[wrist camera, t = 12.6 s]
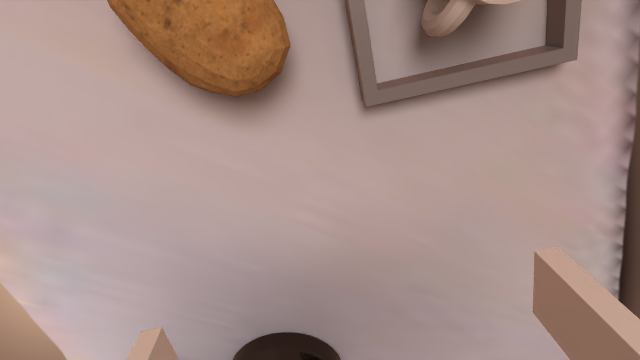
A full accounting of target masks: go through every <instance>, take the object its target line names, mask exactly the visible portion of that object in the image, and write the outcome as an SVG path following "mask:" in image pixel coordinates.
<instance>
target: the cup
mask: <svg viewBox="0 0 640 360" xmlns="http://www.w3.org/2000/svg"><path fill="white" fill-rule="evenodd" d="M517 1H520V0H428V1H427V3H426V5H425V8H424V11H423V15H422V19H421V26H422V27H423V29H424V30H425V32H426V33H427V35H428V36H432V37H443V36H447V35H448V34H450V33H451V32H453V31H454V30H455V29H456V28H457V27H458V26H459V25H460V24H461V23H462V22H463V21H464V20H465V19H466V17H467V16H468V15H469V13H470V12H471V10H472V9H473V7H474V5H504V4H508V3H513V2H517Z"/></svg>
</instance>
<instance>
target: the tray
mask: <svg viewBox="0 0 640 360" xmlns="http://www.w3.org/2000/svg"><path fill="white" fill-rule="evenodd" d="M581 2H582V0H548V4H547V28H546V45H545V46H541V47H536V48H532V49H527V50H523V51H519V52H514V53H510V54H505V55H501V56H497V57H492V58H488V59H483V60H479V61H475V62H470V63H466V64H462V65H457V66H453V67H448V68H444V69H440V70H435V71H431V72H426V73H422V74H418V75H413V76H409V77H404V78H400V79H396V80H391V81H387V82H382V83H378V84H377V82H376V75H375V69H374V62H373V56H372V49H371V42H370V36H369V29H368V22H367V16H366V9H365V3H364V0H345V3H346V9H347V14H348V20H349V26H350V32H351V38H352V44H353V49H354V55H355V61H356V67H357V73H358V79H359V85H360V90H361V96H362V101H363V103H364V104H365V106H366V107H369V106H373V105H377V104H382V103H386V102H391V101H395V100H400V99H404V98H409V97H413V96H418V95H422V94H427V93H431V92H435V91H440V90H444V89H449V88H453V87H458V86H462V85H467V84H471V83H476V82H480V81H485V80H489V79H493V78H498V77H502V76H507V75H511V74H516V73H520V72H525V71H529V70H534V69H538V68H543V67H547V66H551V65H556V64H560V63H565V62H569V61H574V60H577V54H578V41H579V28H580V15H581Z"/></svg>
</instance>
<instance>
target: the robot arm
mask: <svg viewBox="0 0 640 360" xmlns="http://www.w3.org/2000/svg"><path fill="white" fill-rule="evenodd" d="M533 313H534V314H535V316H536V317H537V318H538V319H539V321H540V322H541V323H542V324H543V326H544V327H545V328H546V329H547V331H548V332H549V333H550V334H551V336H552V337H553V338H554V340H555V341H556V342H557V343H558V345H559V346H560V347H561V348H562V350H563V351H564V352H565V353H566V355H567V356H568V357H569V358H570V360H640V319H638V318H637V317H636V316H635V315H634V314H633V313H632V312H631V311H629V310H628V309H627V308H626V307H625V306H624V305H622V304H621V303H620V302H619V301H618V300H617V299H616V298H615V297H614V296H612V295H611V294H610V293H609V292H608V291H607V290H606V289H605V288H603V287H602V286H601V285H600V284H599V283H598V282H597V281H595V280H594V279H593V278H592V277H591V276H590V275H589V274H588V273H586V272H585V271H584V270H583V269H582V268H581V267H580V266H579V265H577V264H576V263H575V262H574V261H573V260H572V259H571V258H570V257H568V256H567V255H566V254H565V253H564V252H563V251H562V250H560V249H559V248H558V247H553V248H548V249H543V250H538V251H535V257H534V290H533ZM127 360H179V359H178V357H177V355H176V353H175V351H174V350H173V348H172V346H171V344H170V342H169V340H168V338H167V336H166V334H165V332H164V330H163V328H162V327H161V328H156V329H151V330H147V331H142V332H141V333H140V335H139V337H138V339H137V341H136V343H135V345H134V347H133V349H132V351H131V353H130V355H129V357H128V359H127ZM233 360H341V359H340V357H339V356H338V354H337V353H336V352H335V350H334V349H333V348H331V347H330V346H329V345H328V344H326V343H325V342H323V341H321V340H319V339H317V338H314V337H311V336H308V335H304V334H298V333H276V334H271V335H266V336H263V337H260V338H257V339H255V340H253V341H251V342H249V343H248V344H246V345H245V346H244V347H242V348H241V349H240V350H239V351H238V352H237V354H236V355H235V357H234V358H233Z"/></svg>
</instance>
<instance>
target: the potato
mask: <svg viewBox="0 0 640 360" xmlns="http://www.w3.org/2000/svg"><path fill="white" fill-rule="evenodd" d="M107 1H108V3H109V5H110V7H111V8H112V10H113V11H114V12H115V13H116V15H117V16H118V17H119V18H120V19H121V21H122V22H123V23H124V24H125V25H126V27H127V28H128V29H129V30H130V31H131V32H132V33H133V34H134V35H135V36H136V37H137V38H138V39H139V40H140V41H141V42H142V44H143V45H144V46H145V47H146V48H147V49H148V50H149V51H150V52H152V53H153V54H154V55H155V56H156V57H157V58H158V59H159V60H160V61H161V62H162V63H163V64H164V65H166V66H167V67H168V68H169V69H170V70H171V71H172V72H174V73H175V74H177V75H178V76H179V77H181V78H182V79H183V80H185V81H186V82H188V83H189V84H190V85H193V86H196V87H199V88H202V89H205V90H208V91H211V92H214V93H221V94H228V95H232V96H235V97H236V96H240V95H243V94H247V93H251V92H255V91H259V90H260V89H261V88H263V87H264V86H265V85H266V84H267V83H269V82H270V81H271V80H272V79H274V78H275V77H276V76H277V75H278V74H280V73H281V70H282V67H283V64H284V62H285V59H286V56H287V53H288V51H289V48H290V41H289V37H288V34H287V30H286V26H285V22H284V18H283V16H282V14H281V12H280V11H279V9H278V7H277V5H276V4H275V2H274V0H107Z"/></svg>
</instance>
